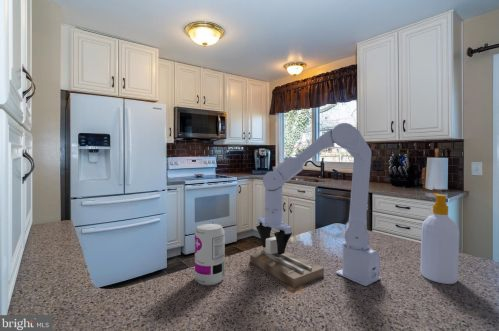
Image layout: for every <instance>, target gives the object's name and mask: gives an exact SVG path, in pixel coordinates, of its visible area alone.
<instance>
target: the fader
mask: <svg viewBox="0 0 499 331" xmlns="http://www.w3.org/2000/svg"><path fill="white" fill-rule="evenodd" d="M265 251H266V253H268V254H270V255H271V254H272V255H274V256H278V255H279V254H278V251H277V241H276V237H275V236H272V237H271V236H270V238H267V239H266V247H265Z"/></svg>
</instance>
